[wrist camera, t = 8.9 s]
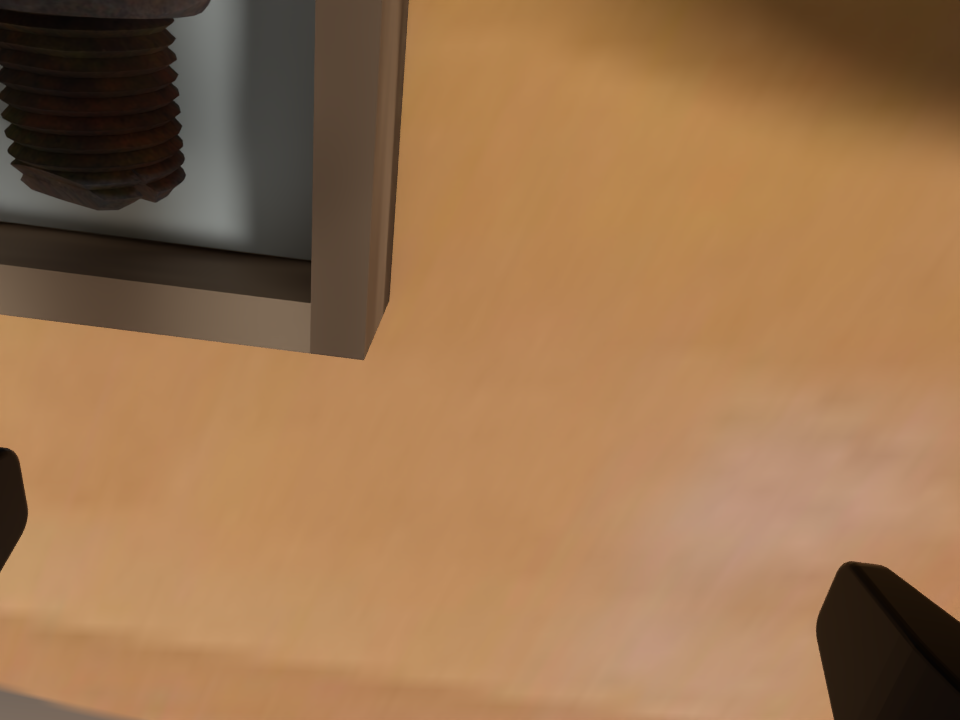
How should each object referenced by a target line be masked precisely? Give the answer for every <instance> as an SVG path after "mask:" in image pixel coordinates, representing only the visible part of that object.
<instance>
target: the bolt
mask: <svg viewBox="0 0 960 720" xmlns="http://www.w3.org/2000/svg"><path fill="white" fill-rule="evenodd" d="M210 1H211V0H0V65H1V66H3V68H2V69H1V70H0V83H2V84H4V85H6V87H5V88H4V89H3V90H2V91H1V92H0V100H2V101H3V102H5V103H7V104H8V106H7V108H6V109H5V110H4V111H3V112H2V113H1V116H2V118H3V119H5V120H6V121H8V122H10V123H11V124H10V125H9V126H8V127H7V128H6V129H5V130H4V132H5V135H6V137H7V138H9V139H11V140H13V141H14V142H13V143H12V144H11V145H10V146H9V148H8V150H7V151H8V154H10V155H11V156H13V157H14V158H15V160H13V161H12V162H11V164H10V165H12V166H13V167H14V168H16V169H17V170H18V171H20V172H21V173H22V174H23V175H22V177H21V179H20V180H21V181H22V182H23V183H25V184H26V185H27V186H28V187H29V188H30V189H32V190H34V191H37V192H40V193H43V194H46V195H49V196H52V197H55V198H57V199H60V200H63V201H67V202H70V203H74V204H77V205H80V206H84V207H87V208H91V209H94V210H97V211H103V210H120V209H122V208H124V207H126V206H128V205H130V204H132V203H134V202H136V201H137V200H139V199H143V200H147V201H150V202H154V203H156V202H158V201H160V200H162V199H164V198H165V197H167V196H168V195H169V194H170V193H171V191H172V190H173V189H174V188H175V187H177V186H178V185H179V184H181V183H182V182H183V181H184V180H185V177H186V174H185V171H184V169H183V168H182V167H181V165H182V164H183V163H184V161H185V157H184V154H183V153H182V152H181V151H180V149H181V148H182V147H183V140H182V139H181V137H180V136H179V135H178V134H179V133H180V130H181V128H182V125H181V124H180V123H179V121H178V120H177V119H176V118H175V117H176V116H177V115H179V114H180V113H181V111H180V107H179V105H178V104H177V103H176V102H175V101H173V100H174V99H175V98H177V97H178V96H179V91H178V88H177V87H175V86H174V85H173V84H172V82H174V81H175V80H176V78H177V77H178V75H179V74H178V73H177V72H176V71H175V70H174V69H172V68H171V67H170V66H169V65H170V64H172V63H173V62H174V61H176V60H177V57H176V54H175V53H174V52H173V51H172V50H171V49H169V48H168V46H170V45H171V44H172V43H173V42H174V41H175V39H176V38H175V37H174V36H173V35H172V34H171V33H170V32H169V31H168V30H167V29H166V28H167V27H168V26H169V25H171V24H172V23H173V22H174V19H173V18H182V17H189V16H195V15H198V14H200V13H202V12H203V11H204V10H205V9H206V7H207V6H208V5H209V3H210Z"/></svg>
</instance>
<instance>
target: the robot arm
mask: <svg viewBox="0 0 960 720" xmlns="http://www.w3.org/2000/svg"><path fill="white" fill-rule="evenodd" d="M27 517H28V507H27V501H26V496H25V490H24V484H23V479H22V473H21V468H20V462H19V459H18V457H17V455H16V454H15V452H14V451H12V450H10V449H8V448H3V447H0V572H1V570H2V568H3V566H4V565H5V563H6V561H7V559H8V558H9V556H10V554H11V553H12V551H13V549H14V547H15V546H16V544H17V542H18V540H19V539H20V537H21V535H22V533H23V531H24V529H25V526H26V522H27ZM816 636H817V642H818V647H819V651H820V656H821V661H822V666H823V670H824V675H825V680H826V684H827V689H828V694H829V698H830V703H831V708H832V713H833V717H834V720H960V622H959V621H958V620H956V619H955V618H954V617H952V616H951V615H950V614H948V613H947V612H946V611H944V610H943V609H942V608H940V607H939V606H938V605H936V604H935V603H934V602H932V601H931V600H930V599H928V598H927V597H926V596H924V595H923V594H922V593H920V592H919V591H918V590H916V589H915V588H914V587H912V586H911V585H910V584H908V583H907V582H906V581H904V580H903V579H902V578H900V577H899V576H898V575H896V574H895V573H894V572H892V571H891V570H890V569H888V568H887V567H884V566H882V565H876V564H869V563H861V562H854V561H849V562H846V563H844V564H843V565H842V566H841V567H840V568H839V569H838V571H837V573H836V575H835V578H834V580H833V582H832V585H831V587H830V589H829V592H828V594H827V596H826V598H825V601H824V603H823V605H822V608H821V610H820V612H819V615H818V619H817V625H816Z"/></svg>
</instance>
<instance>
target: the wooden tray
mask: <svg viewBox="0 0 960 720" xmlns="http://www.w3.org/2000/svg"><path fill="white" fill-rule="evenodd" d="M408 3H409V0H211V1H210V3H209V5H208V6H207V7H206V9H205V10H204V11H203V12H202V13H200V14H198V15H195V16H189V17H182V18H173V19H174V22H173V23H172V24H171V25H169V26H168V27H167V28H166V29H167V30H168V31H169V32H170V33H171V34H172V35H173V36H174V37H175V38H176V39H175V41H174V42H173V43H172V44H171V45H170V46H168V48H169V49H171V50H172V51H173V52H174V53H175V54H176V57H177V60H176V61H174V62H173V63H172V64H170V65H169V66H170V67H171V68H172V69H174V70H175V71H176V72H177V73H178V74H179V75H178V77H177V78H176V80H175V81H174V82H172V84H173V85H174V86H175V87H177V88H178V91H179V96H178V97H177V98H175V99H174V100H173V101H175V102H176V103H177V104H178V105H179V107H180V111H181V113H180V114H179V115H177V116H176V117H175V118H176V119H177V120H178V121H179V123H180V124H181V125H182V128H181V130H180V133H179V134H178V135H179V136H180V137H181V139H182V140H183V147H182V148H181V149H180V151H181V152H182V153H183V154H184V157H185V161H184V163H183V164H182V165H181V167H182V168H183V169H184V171H185V174H186V177H185V180H184V181H183V182H182V183H181V184H179V185H178V186H177V187H175V188H174V189H173V190H172V191H171V193H170V194H169V195H168V196H167V197H165V198H164V199H162V200H160V201H158V202H156V203H154V202H150V201H147V200H143V199H139V200H137V201H136V202H134V203H132V204H130V205H128V206H126V207H124V208H122V209H120V210H103V211H97V210H94V209H91V208H87V207H84V206H80V205H77V204H74V203H70V202H67V201H63V200H60V199H57V198H55V197H52V196H49V195H46V194H43V193H40V192H37V191H34V190H32V189H30V188H29V187H28V186H27V185H26V184H25V183H23V182H22V181H21V180H20V179H21V177H22V175H23V174H22V173H21V172H20V171H18V170H17V169H16V168H14V167H13V166H12V165H10V164H11V162H12V161H13V160H15V158H14V157H13V156H11V155H10V154H8V151H7V150H8V148H9V146H10V145H11V144H12V143H13V142H14V141H13V140H11V139H9V138H7V137H6V135H5V132H4V130H5V129H6V128H7V127H8V126H9V125H10V124H11V123H10V122H8V121H6V120H5V119H3V118H2V116H1V113H2V112H3V111H4V110H5V109H6V108H7V106H8V104H7V103H5V102H3V101H2V100H0V314H1V315H9V316H17V317H25V318H33V319H41V320H49V321H56V322H64V323H72V324H80V325H88V326H96V327H104V328H112V329H120V330H128V331H136V332H144V333H152V334H160V335H168V336H176V337H184V338H192V339H200V340H208V341H216V342H223V343H231V344H239V345H247V346H255V347H263V348H271V349H279V350H287V351H295V352H303V353H311V354H319V355H327V356H335V357H343V358H351V359H359V360H364V359H365V357H366V354H367V352H368V349H369V347H370V345H371V342H372V340H373V338H374V335H375V333H376V331H377V328H378V326H379V324H380V321H381V319H382V316H383V314H384V312H385V309H386V307H387V305H388V302H389V296H390V281H391V265H392V250H393V235H394V219H395V204H396V188H397V173H398V157H399V142H400V126H401V111H402V96H403V80H404V65H405V49H406V34H407V18H408ZM2 68H3V66H1V65H0V70H1V69H2ZM5 87H6V85H4V84H2V83H0V92H1V91H2V90H3V89H4V88H5Z"/></svg>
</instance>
